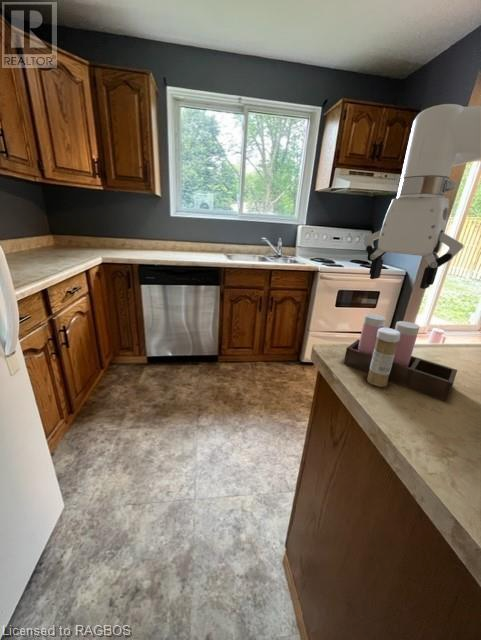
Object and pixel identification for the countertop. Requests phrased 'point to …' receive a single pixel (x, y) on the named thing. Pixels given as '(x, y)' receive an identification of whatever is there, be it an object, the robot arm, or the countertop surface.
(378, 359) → the sprinkles bottle
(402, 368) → the spice rack
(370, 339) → the pink bottle
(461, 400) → the countertop surface
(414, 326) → the pink bottle
